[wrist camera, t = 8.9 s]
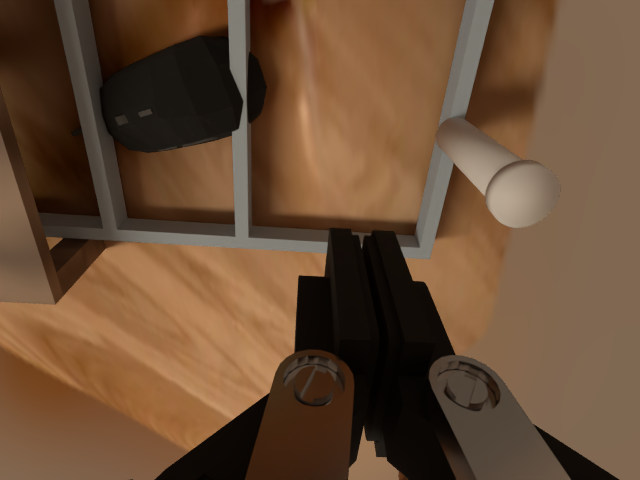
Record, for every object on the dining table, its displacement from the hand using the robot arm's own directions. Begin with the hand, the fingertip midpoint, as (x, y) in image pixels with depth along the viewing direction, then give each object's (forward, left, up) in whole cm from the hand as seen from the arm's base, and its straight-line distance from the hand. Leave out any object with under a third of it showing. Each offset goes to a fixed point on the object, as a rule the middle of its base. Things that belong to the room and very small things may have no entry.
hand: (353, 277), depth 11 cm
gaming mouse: (0, -12, -21) cm, 24 cm away
